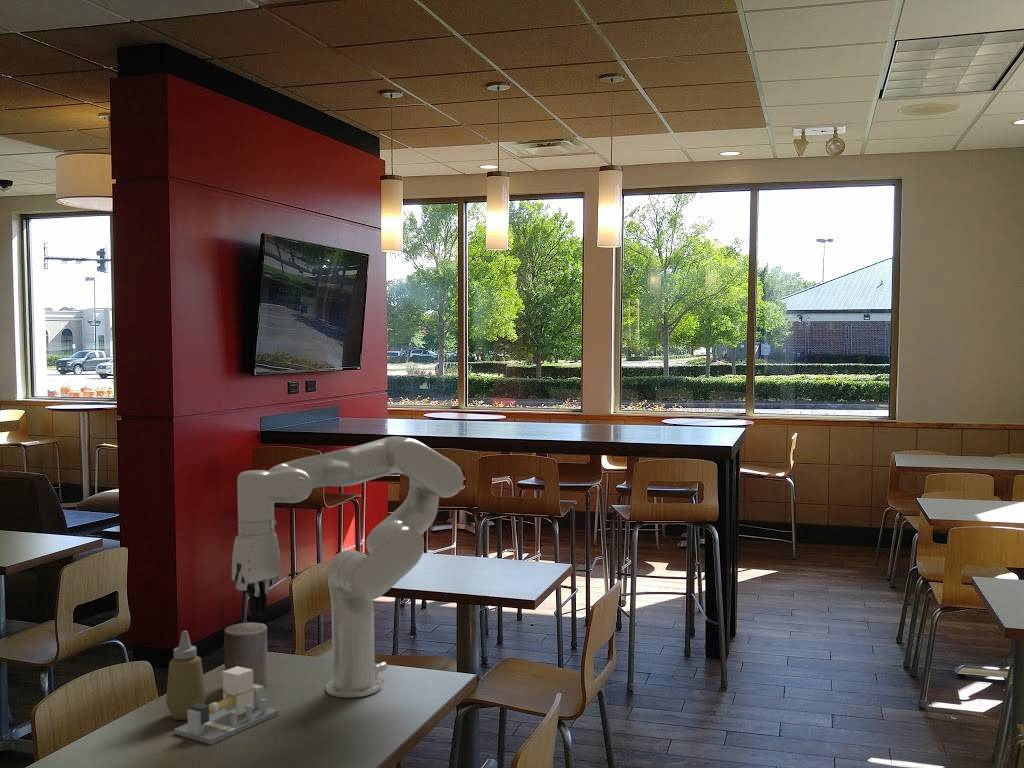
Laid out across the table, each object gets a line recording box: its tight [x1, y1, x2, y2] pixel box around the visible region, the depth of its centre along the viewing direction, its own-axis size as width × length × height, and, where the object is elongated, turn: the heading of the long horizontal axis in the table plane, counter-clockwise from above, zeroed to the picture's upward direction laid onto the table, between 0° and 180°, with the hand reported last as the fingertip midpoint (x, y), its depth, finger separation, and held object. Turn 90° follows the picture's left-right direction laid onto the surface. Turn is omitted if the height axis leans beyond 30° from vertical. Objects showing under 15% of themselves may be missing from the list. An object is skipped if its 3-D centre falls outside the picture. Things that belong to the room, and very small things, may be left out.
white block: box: [222, 666, 254, 715], centre depth 195 cm, size 4×5×8 cm
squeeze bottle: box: [165, 630, 207, 721], centre depth 197 cm, size 8×8×18 cm
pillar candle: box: [223, 622, 269, 688], centre depth 215 cm, size 10×10×15 cm
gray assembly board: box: [173, 684, 280, 746], centre depth 192 cm, size 18×11×6 cm, turn 148°
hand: (258, 612), depth 200 cm, fingers closed
